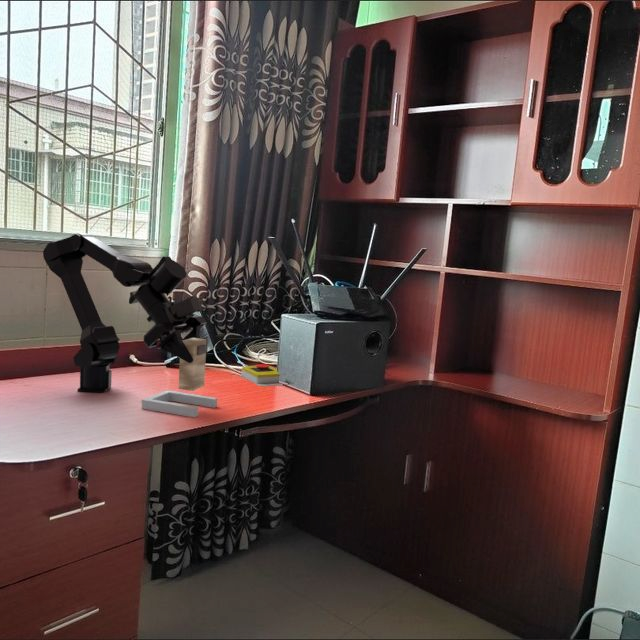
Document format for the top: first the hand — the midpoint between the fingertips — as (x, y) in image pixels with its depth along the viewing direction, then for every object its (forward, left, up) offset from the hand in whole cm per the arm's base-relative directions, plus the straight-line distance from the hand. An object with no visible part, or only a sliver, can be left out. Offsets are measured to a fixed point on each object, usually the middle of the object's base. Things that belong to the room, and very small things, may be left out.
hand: (198, 359), depth 140 cm
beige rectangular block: (-1, +1, -7) cm, 7 cm away
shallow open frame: (-4, +2, -12) cm, 12 cm away
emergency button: (+15, +35, -12) cm, 40 cm away
